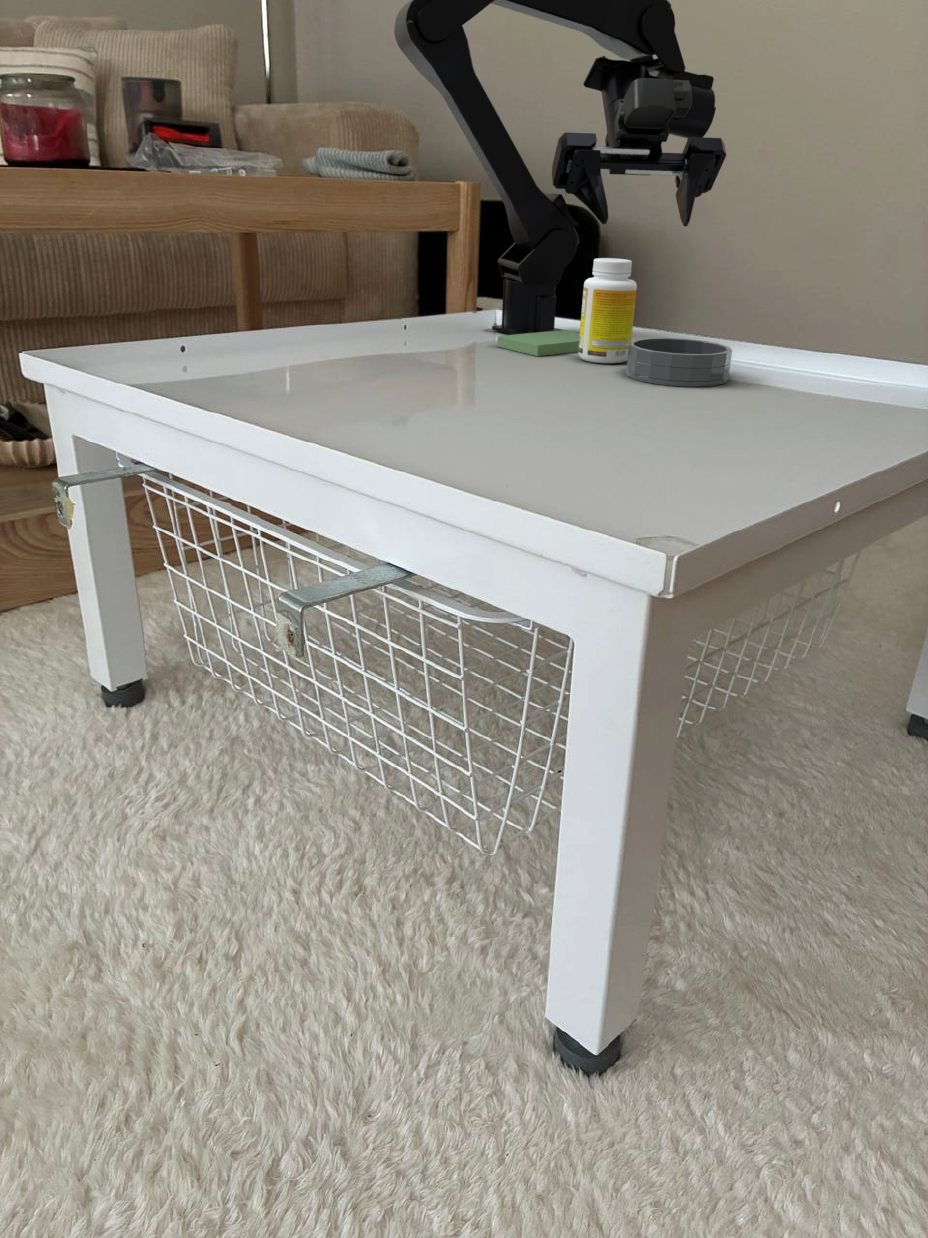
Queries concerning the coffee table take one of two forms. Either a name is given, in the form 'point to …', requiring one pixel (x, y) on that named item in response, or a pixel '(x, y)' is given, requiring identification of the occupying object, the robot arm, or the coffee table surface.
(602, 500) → the coffee table surface
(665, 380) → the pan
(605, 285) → the supplement bottle
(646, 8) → the robot arm
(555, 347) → the green rectangular slab
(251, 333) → the coffee table surface
